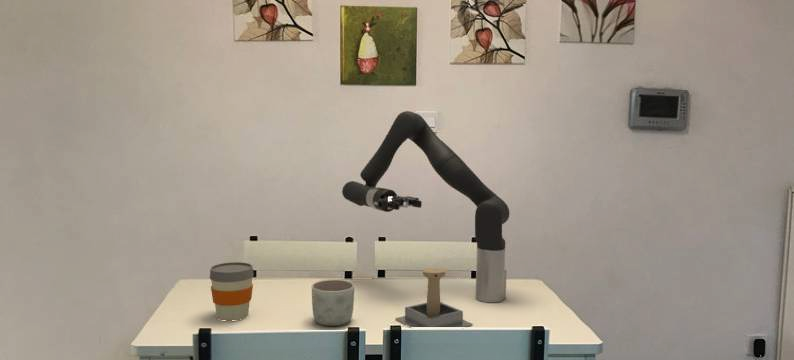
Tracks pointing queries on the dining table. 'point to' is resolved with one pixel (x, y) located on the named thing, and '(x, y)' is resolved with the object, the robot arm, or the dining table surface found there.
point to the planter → (332, 302)
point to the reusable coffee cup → (231, 289)
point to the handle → (433, 290)
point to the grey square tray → (446, 318)
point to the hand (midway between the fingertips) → (409, 205)
